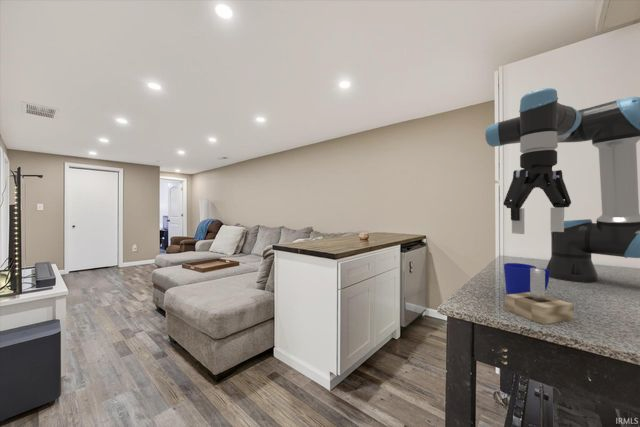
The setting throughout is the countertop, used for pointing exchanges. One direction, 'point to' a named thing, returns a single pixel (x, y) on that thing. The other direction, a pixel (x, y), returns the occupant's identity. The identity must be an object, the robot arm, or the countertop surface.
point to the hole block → (539, 308)
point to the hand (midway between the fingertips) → (538, 232)
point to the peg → (537, 284)
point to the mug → (520, 277)
